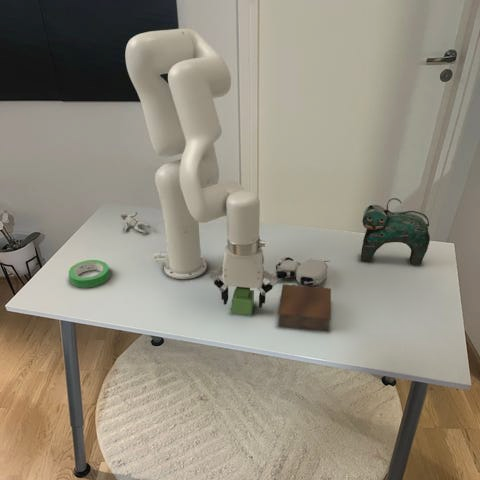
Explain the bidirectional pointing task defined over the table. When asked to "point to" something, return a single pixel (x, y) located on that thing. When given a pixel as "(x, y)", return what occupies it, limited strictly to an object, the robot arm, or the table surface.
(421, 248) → the ceramic cat
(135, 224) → the soldier figure
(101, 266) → the tape roll
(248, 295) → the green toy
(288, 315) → the walnut plinth
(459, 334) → the table surface
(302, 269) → the robot toy
